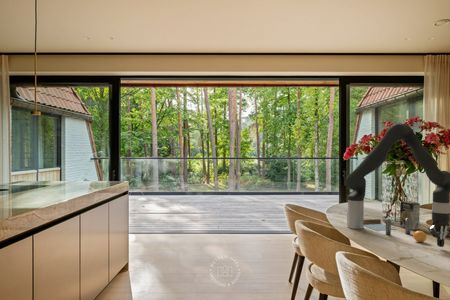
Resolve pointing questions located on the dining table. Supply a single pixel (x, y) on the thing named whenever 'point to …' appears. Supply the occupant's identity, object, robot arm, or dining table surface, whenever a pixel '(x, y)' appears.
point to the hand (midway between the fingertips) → (440, 246)
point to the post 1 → (388, 226)
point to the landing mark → (377, 227)
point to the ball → (419, 236)
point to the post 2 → (408, 226)
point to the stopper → (372, 221)
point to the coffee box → (410, 213)
